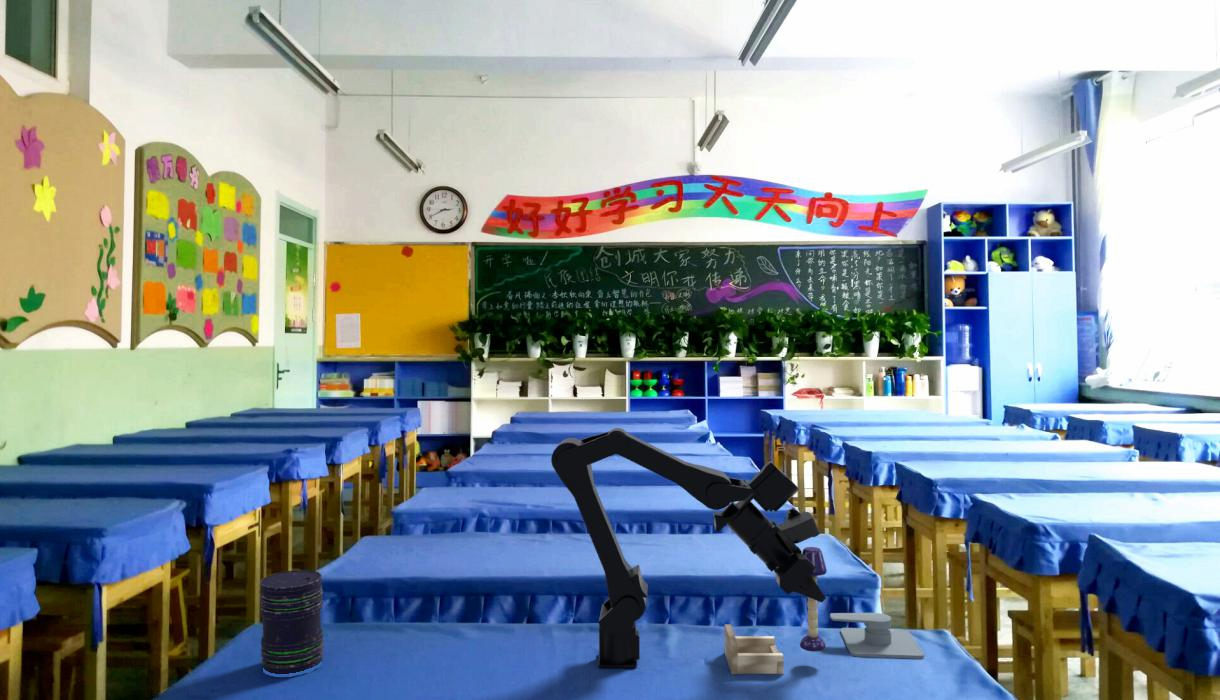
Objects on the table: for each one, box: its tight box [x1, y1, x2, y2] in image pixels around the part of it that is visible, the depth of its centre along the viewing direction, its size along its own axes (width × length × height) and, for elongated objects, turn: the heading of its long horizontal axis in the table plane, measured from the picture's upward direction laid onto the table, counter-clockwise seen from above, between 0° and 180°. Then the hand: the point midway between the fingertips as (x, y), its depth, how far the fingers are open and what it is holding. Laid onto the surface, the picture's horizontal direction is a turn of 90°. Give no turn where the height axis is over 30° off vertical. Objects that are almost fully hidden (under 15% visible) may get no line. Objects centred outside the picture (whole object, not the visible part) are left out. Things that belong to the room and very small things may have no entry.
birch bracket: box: [724, 623, 785, 675], centre depth 141 cm, size 8×9×5 cm
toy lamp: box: [799, 546, 828, 653], centre depth 141 cm, size 5×5×17 cm
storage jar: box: [259, 569, 324, 674], centre depth 141 cm, size 10×10×15 cm
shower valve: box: [829, 612, 925, 660], centre depth 150 cm, size 12×6×15 cm
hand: (820, 595), depth 141 cm, fingers closed on toy lamp, 4 cm apart
